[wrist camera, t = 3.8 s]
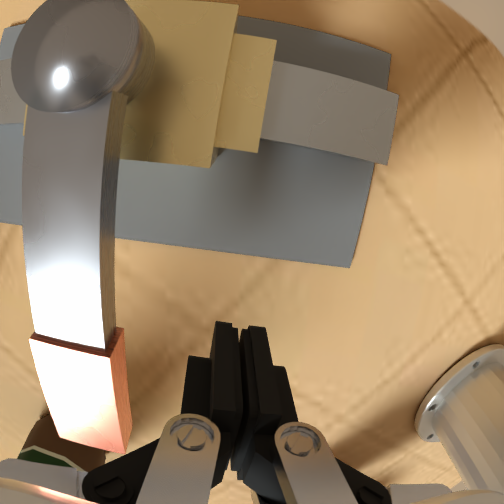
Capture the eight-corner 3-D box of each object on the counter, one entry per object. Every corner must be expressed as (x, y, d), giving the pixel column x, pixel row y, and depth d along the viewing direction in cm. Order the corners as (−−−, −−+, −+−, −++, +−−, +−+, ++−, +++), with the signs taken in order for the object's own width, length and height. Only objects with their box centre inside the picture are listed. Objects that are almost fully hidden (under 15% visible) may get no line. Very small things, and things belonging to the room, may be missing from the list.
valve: (369, 80, 15) (461, 53, 8) (351, 181, 17) (436, 217, 10) (11, 54, 13) (-79, 35, 5) (-2, 144, 15) (-98, 163, 7)
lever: (68, 19, 7) (29, -5, 4) (165, 13, 7) (146, -22, 5) (70, 403, 11) (52, 442, 9) (138, 419, 12) (128, 463, 9)
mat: (388, 55, 15) (391, 54, 15) (347, 265, 19) (349, 268, 19) (7, 29, 12) (4, 28, 12) (-12, 218, 16) (-15, 220, 16)
